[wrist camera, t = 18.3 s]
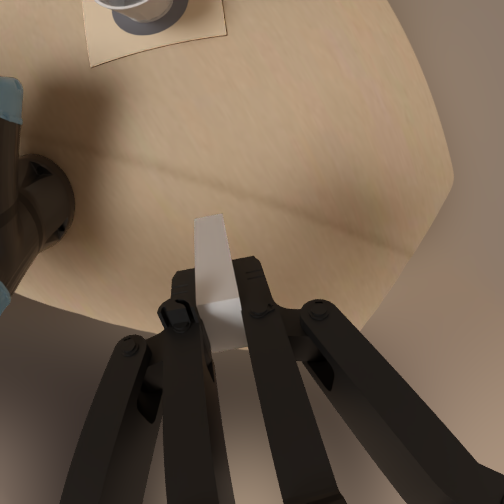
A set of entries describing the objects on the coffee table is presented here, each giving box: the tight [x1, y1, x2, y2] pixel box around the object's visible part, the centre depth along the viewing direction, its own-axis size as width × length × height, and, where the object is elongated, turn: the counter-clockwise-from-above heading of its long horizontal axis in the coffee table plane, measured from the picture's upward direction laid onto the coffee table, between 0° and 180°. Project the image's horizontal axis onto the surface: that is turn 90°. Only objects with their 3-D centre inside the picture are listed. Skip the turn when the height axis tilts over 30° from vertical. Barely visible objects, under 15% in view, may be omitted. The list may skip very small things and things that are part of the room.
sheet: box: [82, 0, 226, 68], centre depth 26 cm, size 18×14×1 cm
